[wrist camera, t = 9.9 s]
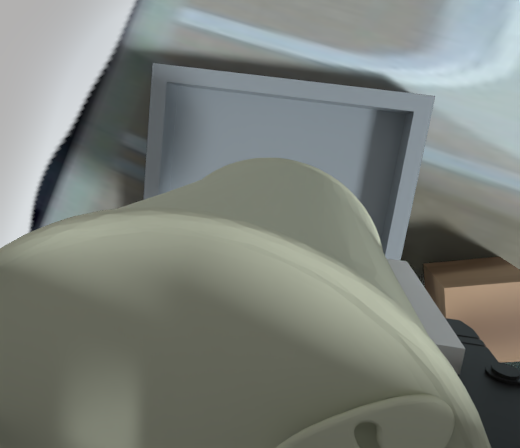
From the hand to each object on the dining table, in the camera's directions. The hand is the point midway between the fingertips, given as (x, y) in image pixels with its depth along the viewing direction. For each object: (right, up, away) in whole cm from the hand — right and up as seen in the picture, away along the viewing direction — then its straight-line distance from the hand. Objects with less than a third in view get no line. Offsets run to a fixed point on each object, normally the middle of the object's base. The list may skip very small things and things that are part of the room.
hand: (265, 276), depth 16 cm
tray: (+1, +5, +13) cm, 14 cm away
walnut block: (+14, -3, +13) cm, 19 cm away
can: (0, 0, +1) cm, 1 cm away
